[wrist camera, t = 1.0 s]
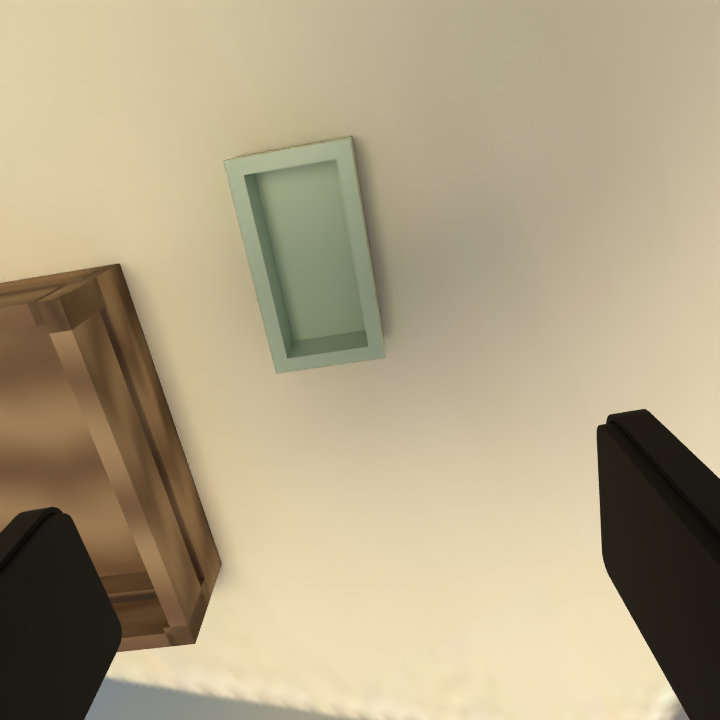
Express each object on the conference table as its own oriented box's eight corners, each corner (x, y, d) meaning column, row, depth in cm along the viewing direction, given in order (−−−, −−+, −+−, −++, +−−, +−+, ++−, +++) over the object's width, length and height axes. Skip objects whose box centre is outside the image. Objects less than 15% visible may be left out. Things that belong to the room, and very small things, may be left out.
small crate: (238, 156, 26) (223, 160, 24) (351, 135, 26) (349, 138, 23) (284, 350, 30) (276, 373, 28) (383, 335, 30) (385, 357, 27)
